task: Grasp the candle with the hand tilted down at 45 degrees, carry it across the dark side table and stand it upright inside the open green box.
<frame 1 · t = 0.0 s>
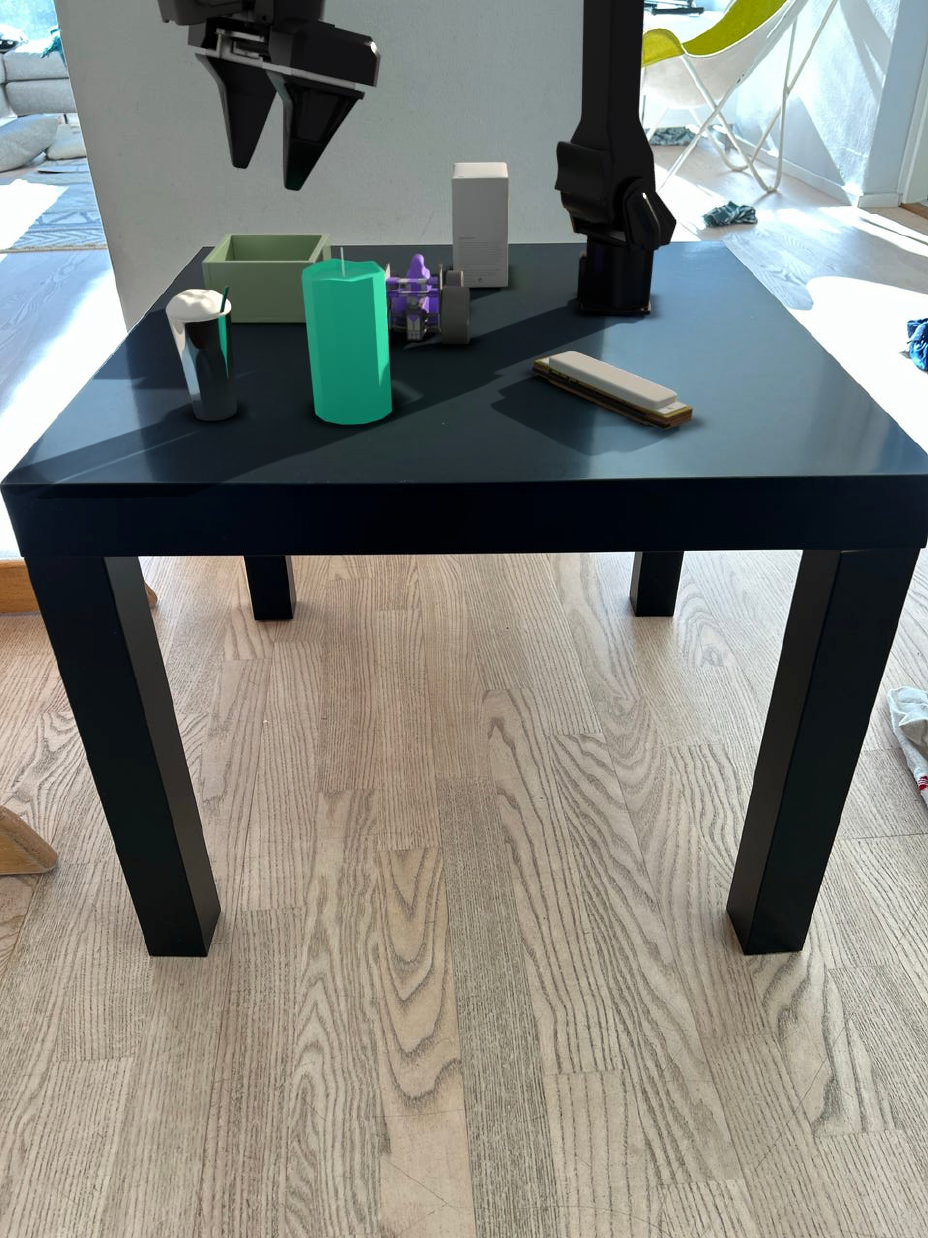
hand: (264, 178, 72), 15 cm above the table, tool pointing down, fingers open, 9 cm apart
open green box: (274, 305, 97), on the table
small box: (480, 279, 104), on the table
milkshake: (220, 416, 76), on the table
candle: (354, 411, 77), on the table
harmonica: (607, 400, 78), on the table
toy race car: (420, 325, 93), on the table
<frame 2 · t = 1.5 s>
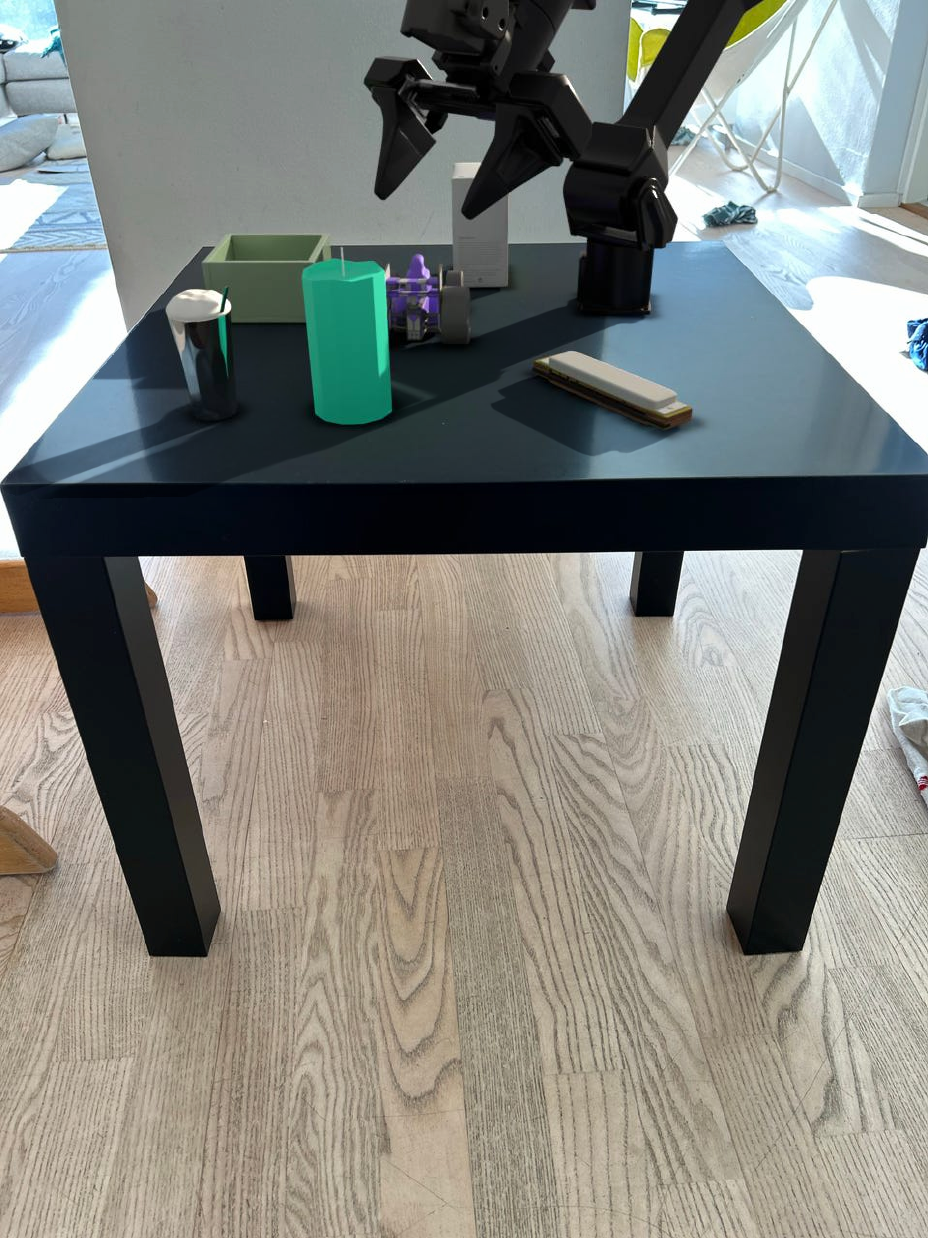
hand: (420, 206, 74), 13 cm above the table, tool tilted 45°, fingers open, 9 cm apart
nothing on the table moved.
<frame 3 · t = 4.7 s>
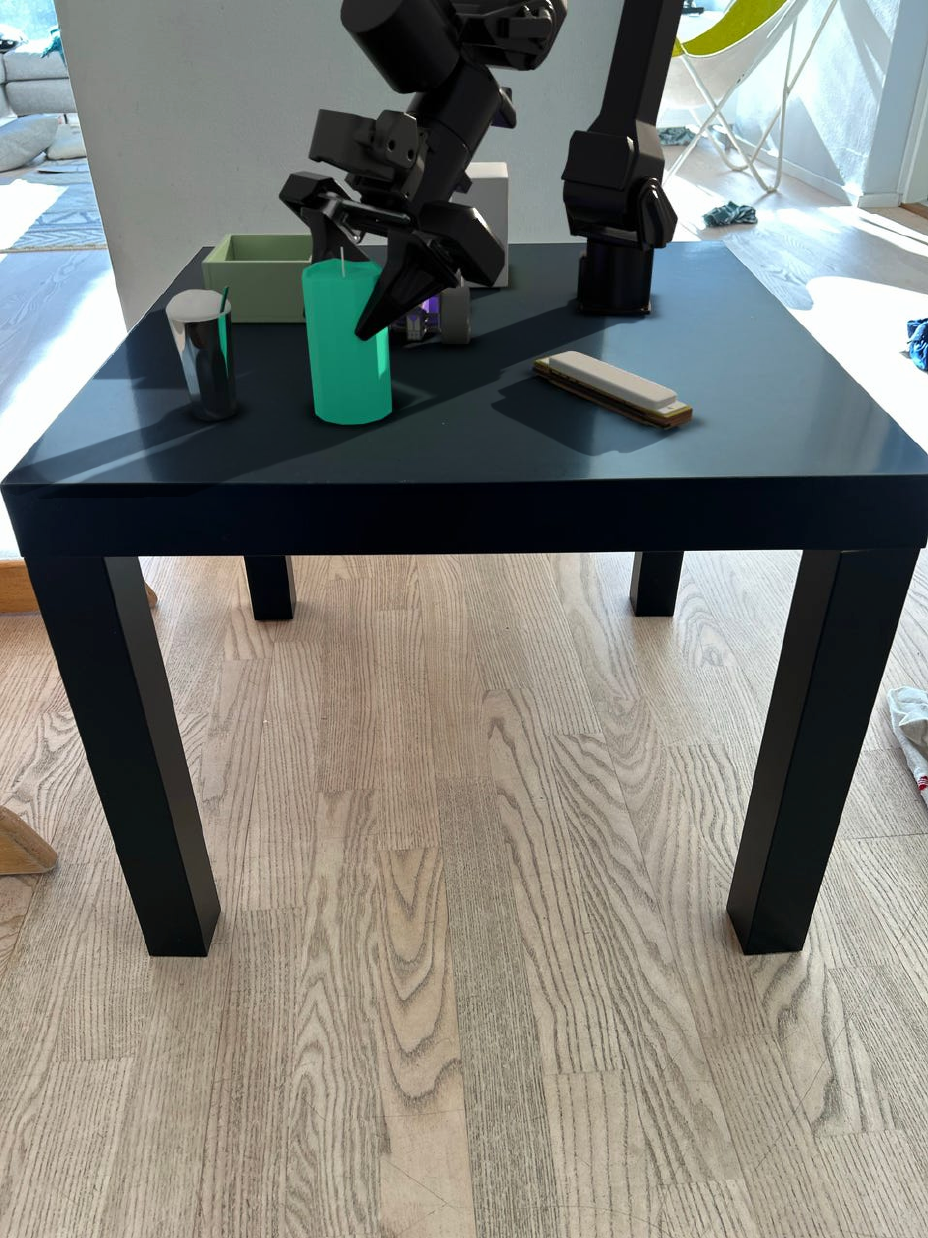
hand: (332, 328, 72), 7 cm above the table, tool tilted 45°, fingers closed on candle, 5 cm apart
candle: (354, 411, 77), on the table, touching gripper
everything else where it was.
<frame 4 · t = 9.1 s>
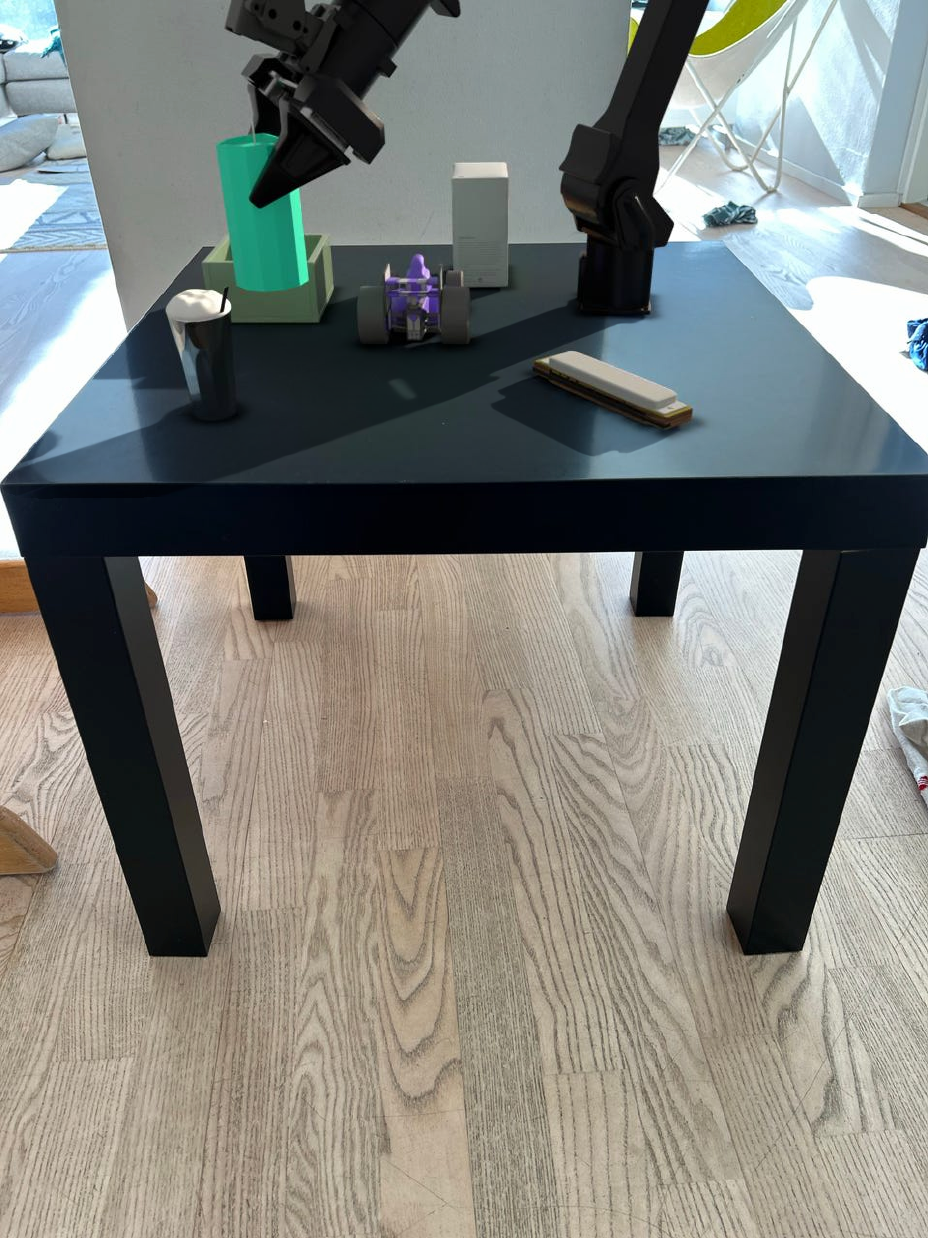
hand: (244, 196, 77), 13 cm above the table, tool tilted 45°, fingers closed on candle, 5 cm apart
candle: (272, 282, 82), point 6 cm above the table, touching gripper
everything else where it was.
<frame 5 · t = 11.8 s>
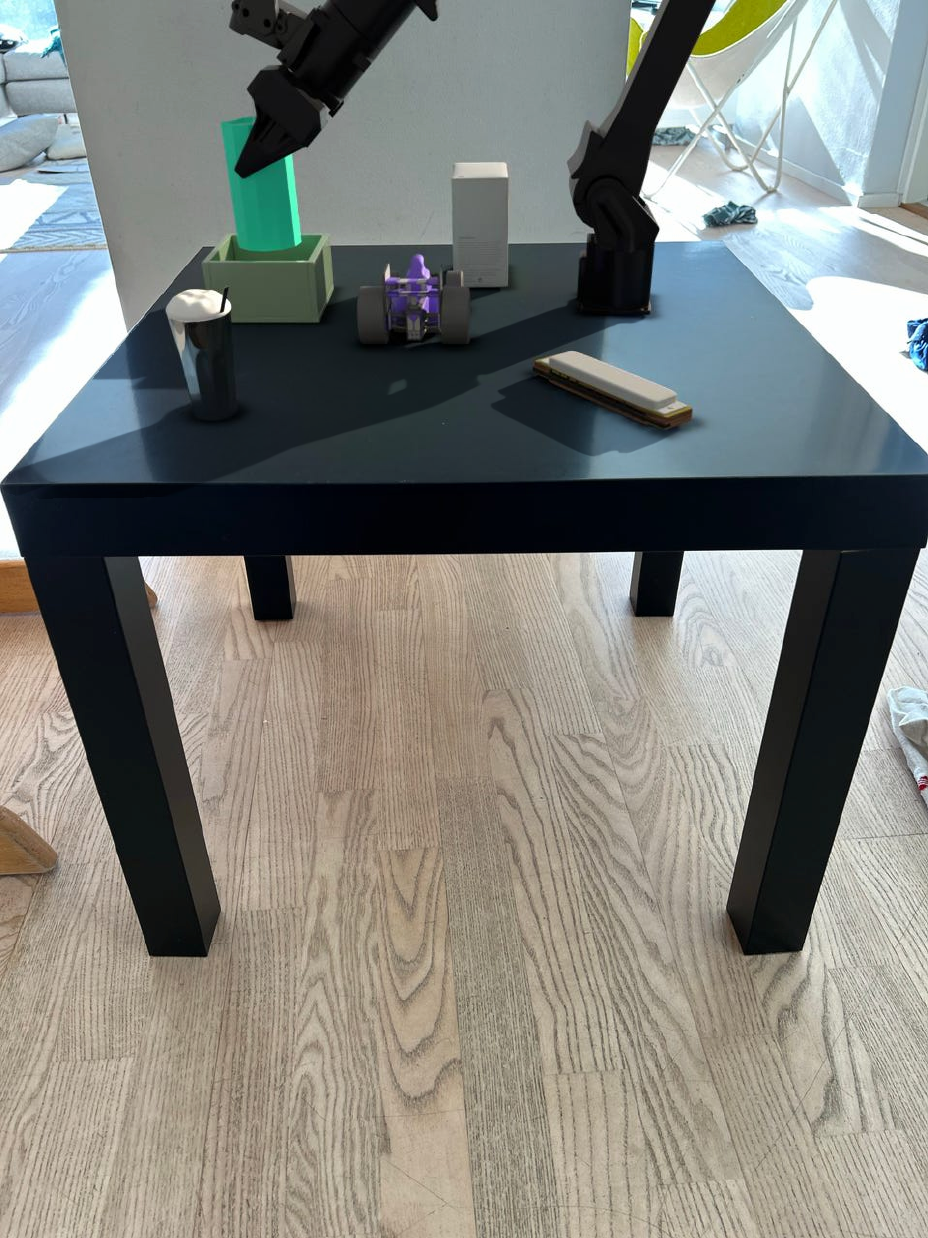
hand: (245, 167, 90), 12 cm above the table, tool tilted 45°, fingers closed on candle, 5 cm apart
candle: (270, 244, 94), point 6 cm above the table, touching gripper
everything else where it was.
when the fingers open (7 cm above the table, at t = 13.8 s): candle stays where it is, resting on open green box.
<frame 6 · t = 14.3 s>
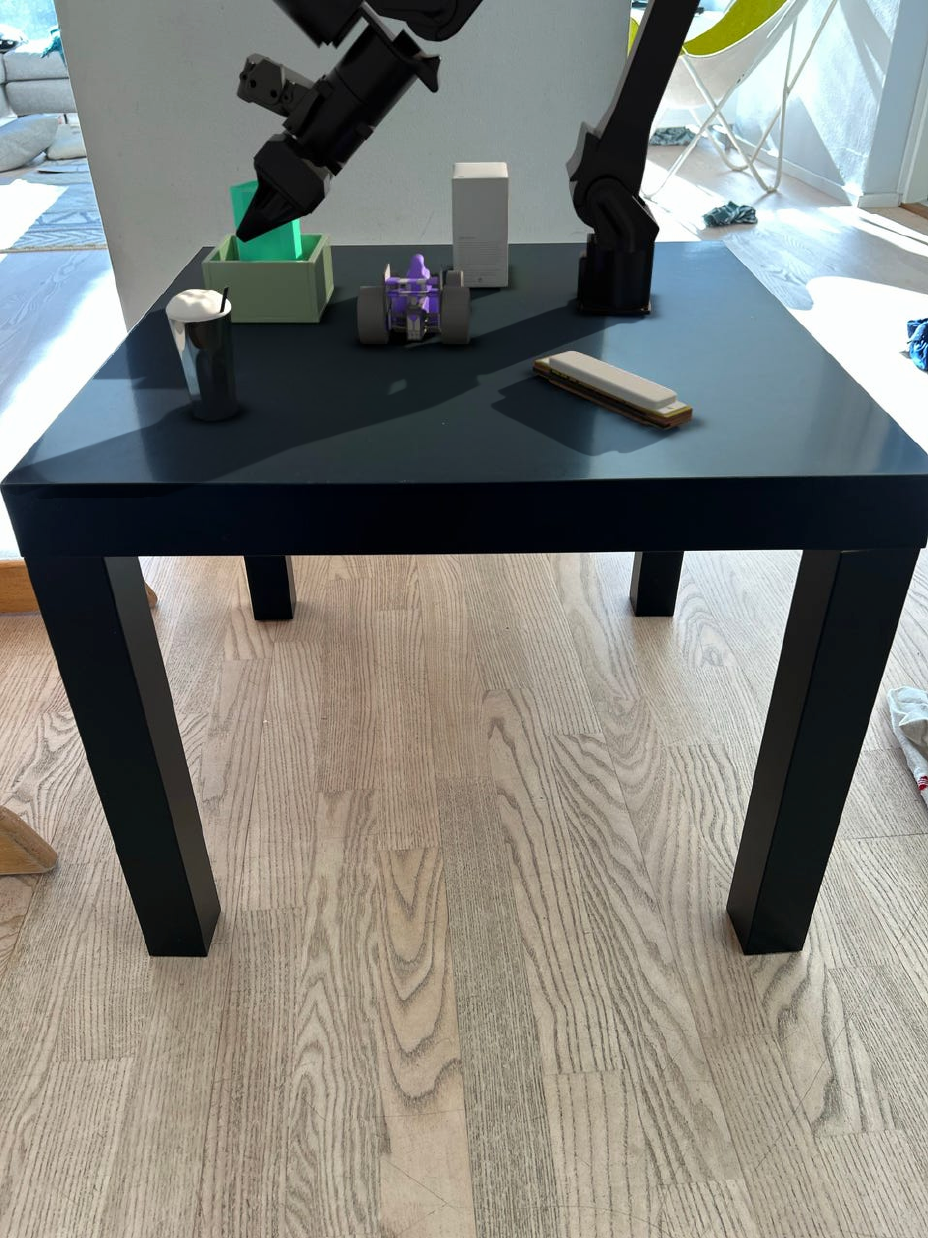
hand: (250, 225, 93), 7 cm above the table, tool tilted 45°, fingers open, 9 cm apart
candle: (276, 301, 97), resting on open green box
everything else where it was.
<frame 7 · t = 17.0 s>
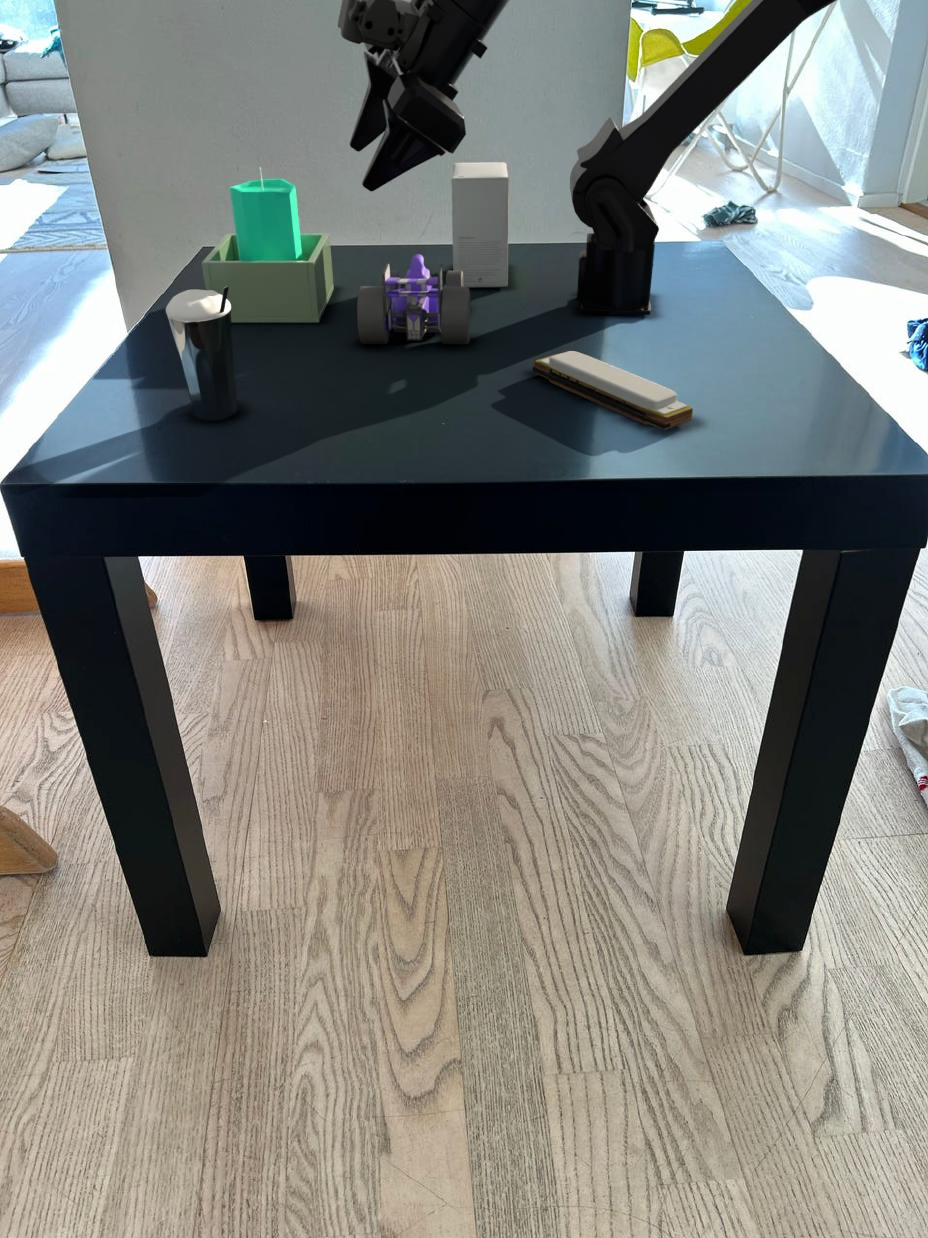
hand: (359, 167, 90), 12 cm above the table, tool tilted 35°, fingers open, 9 cm apart
nothing on the table moved.
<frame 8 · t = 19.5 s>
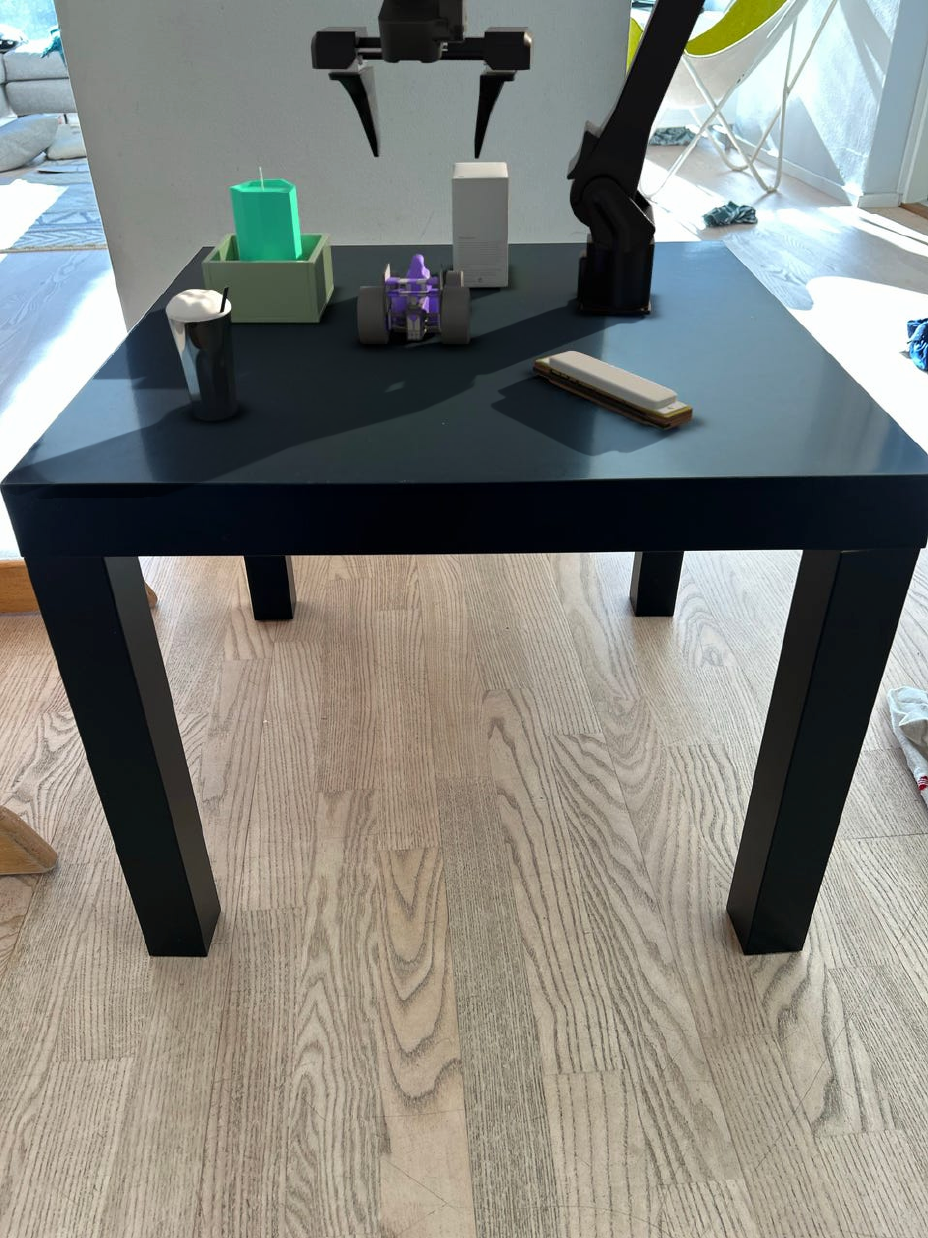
hand: (427, 157, 91), 13 cm above the table, tool pointing down, fingers open, 9 cm apart
nothing on the table moved.
at the end: candle 0.1 cm off-centre in the open green box, point 0.3 cm above the open green box's base; candle tilted 0°; the gripper is holding nothing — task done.
